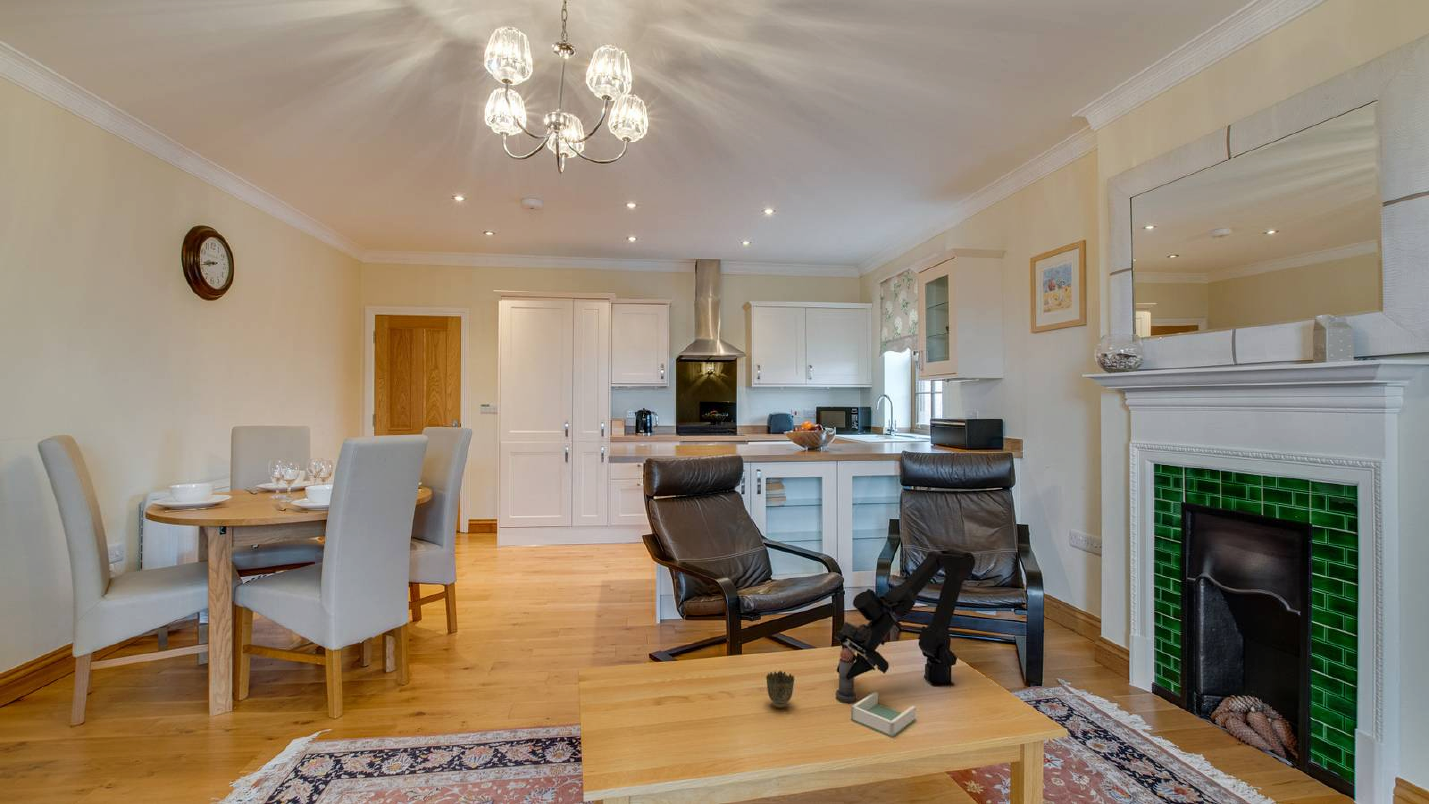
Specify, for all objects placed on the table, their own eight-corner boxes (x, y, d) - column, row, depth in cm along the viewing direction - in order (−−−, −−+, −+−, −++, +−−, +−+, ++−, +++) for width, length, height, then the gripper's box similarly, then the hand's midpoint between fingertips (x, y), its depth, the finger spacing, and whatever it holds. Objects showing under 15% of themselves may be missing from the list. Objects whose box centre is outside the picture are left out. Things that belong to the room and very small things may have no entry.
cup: (799, 706, 167) (799, 676, 167) (782, 716, 161) (783, 685, 161) (777, 697, 172) (777, 668, 172) (760, 706, 166) (760, 676, 166)
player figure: (852, 693, 175) (853, 644, 175) (859, 703, 169) (860, 652, 169) (833, 694, 174) (834, 644, 174) (839, 703, 169) (840, 652, 169)
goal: (874, 704, 169) (875, 691, 169) (915, 720, 161) (915, 706, 161) (850, 720, 160) (851, 706, 160) (892, 737, 152) (892, 723, 152)
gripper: (840, 602, 182) (807, 645, 178) (880, 623, 165) (844, 671, 160) (863, 626, 185) (830, 668, 181) (904, 649, 168) (869, 697, 163)
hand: (842, 675), depth 171 cm, fingers closed on player figure, 4 cm apart
